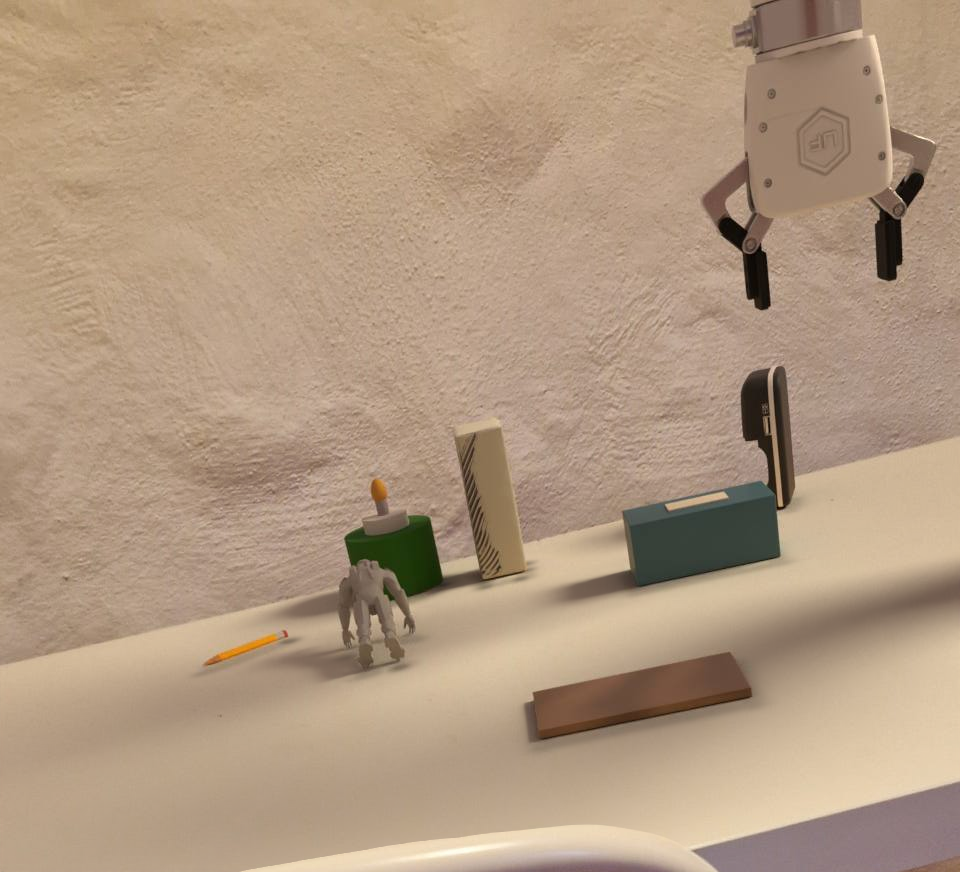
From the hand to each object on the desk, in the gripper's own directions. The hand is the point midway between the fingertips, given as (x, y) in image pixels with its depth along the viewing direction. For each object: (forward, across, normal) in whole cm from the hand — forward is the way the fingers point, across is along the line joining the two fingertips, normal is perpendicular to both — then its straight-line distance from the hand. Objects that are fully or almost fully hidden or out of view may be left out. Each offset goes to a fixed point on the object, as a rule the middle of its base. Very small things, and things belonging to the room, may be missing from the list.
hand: (824, 293), depth 108 cm
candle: (+18, -38, +14) cm, 45 cm away
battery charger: (+18, -2, +16) cm, 25 cm away
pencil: (+19, -53, +4) cm, 56 cm away
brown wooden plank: (+18, -21, -30) cm, 41 cm away
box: (+18, -28, +12) cm, 36 cm away
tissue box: (+18, -12, 0) cm, 22 cm away
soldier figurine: (+18, -40, -4) cm, 44 cm away
